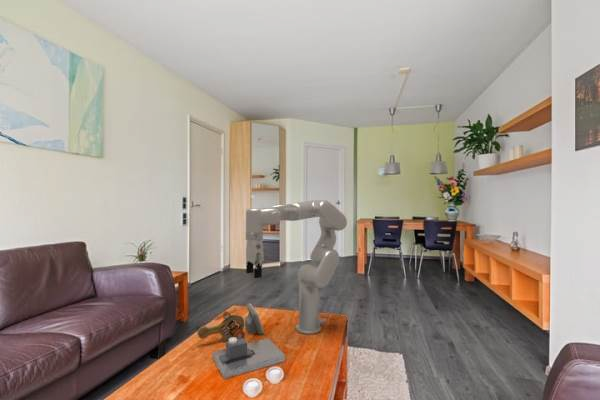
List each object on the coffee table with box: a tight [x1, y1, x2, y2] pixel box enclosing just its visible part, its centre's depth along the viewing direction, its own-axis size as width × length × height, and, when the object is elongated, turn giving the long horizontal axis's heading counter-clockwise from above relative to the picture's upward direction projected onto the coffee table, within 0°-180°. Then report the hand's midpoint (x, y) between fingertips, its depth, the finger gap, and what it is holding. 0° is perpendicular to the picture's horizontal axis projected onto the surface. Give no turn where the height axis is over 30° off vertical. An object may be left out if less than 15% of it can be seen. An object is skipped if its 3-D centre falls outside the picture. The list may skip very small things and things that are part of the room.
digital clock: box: [244, 303, 265, 335], centre depth 145 cm, size 16×9×11 cm, turn 10°
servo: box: [219, 337, 253, 364], centre depth 114 cm, size 12×4×10 cm, turn 120°
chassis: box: [212, 338, 286, 380], centre depth 117 cm, size 24×16×2 cm, turn 120°
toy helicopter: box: [197, 308, 246, 343], centre depth 131 cm, size 8×21×14 cm, turn 121°
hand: (253, 275), depth 129 cm, fingers open, 9 cm apart
